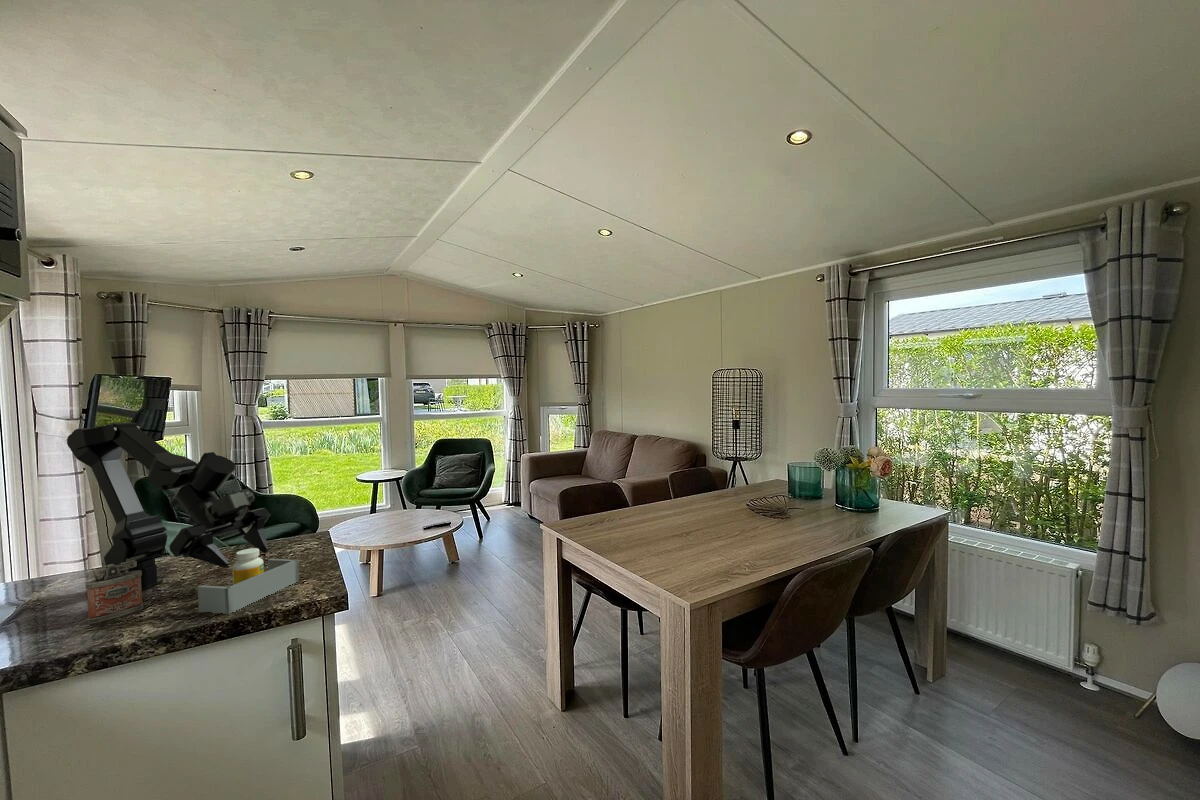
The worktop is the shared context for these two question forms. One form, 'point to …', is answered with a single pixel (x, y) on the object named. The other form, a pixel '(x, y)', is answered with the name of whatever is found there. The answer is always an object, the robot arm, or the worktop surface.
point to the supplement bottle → (247, 565)
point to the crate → (248, 588)
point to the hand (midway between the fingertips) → (247, 558)
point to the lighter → (114, 592)
